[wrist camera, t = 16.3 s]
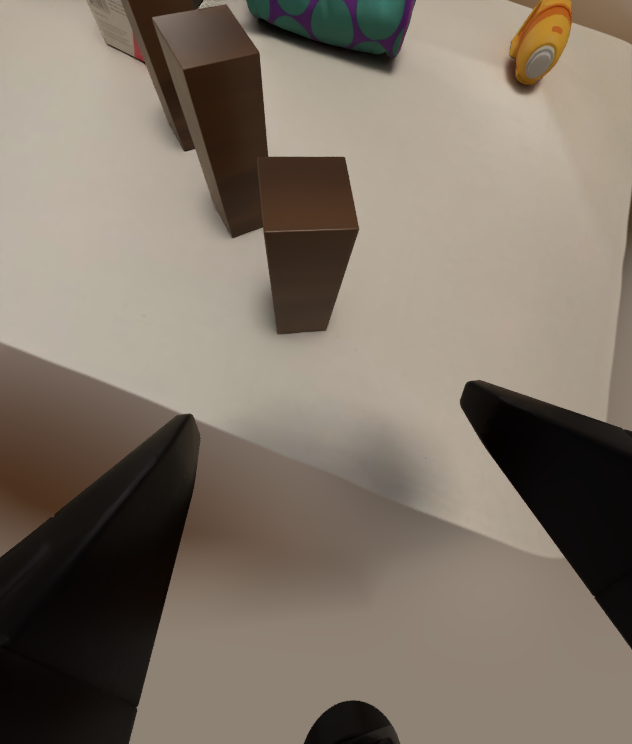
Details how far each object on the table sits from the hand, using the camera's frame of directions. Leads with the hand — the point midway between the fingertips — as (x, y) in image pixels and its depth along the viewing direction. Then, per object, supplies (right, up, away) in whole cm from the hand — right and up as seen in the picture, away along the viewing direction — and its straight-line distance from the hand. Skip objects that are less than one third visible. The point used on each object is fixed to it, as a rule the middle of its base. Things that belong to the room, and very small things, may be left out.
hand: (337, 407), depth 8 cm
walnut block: (-8, +17, +18) cm, 26 cm away
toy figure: (+29, +44, +28) cm, 60 cm away
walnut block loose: (-2, +7, +16) cm, 17 cm away
